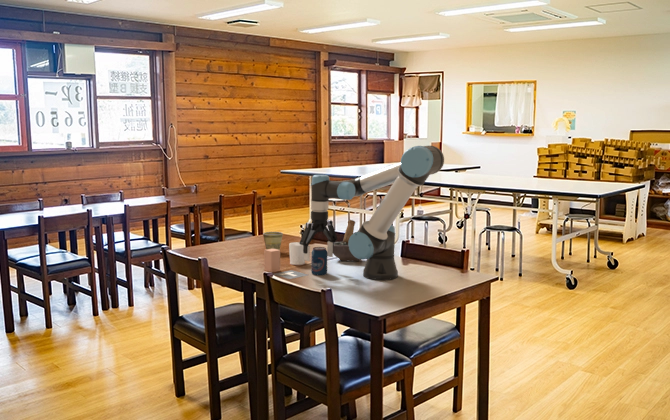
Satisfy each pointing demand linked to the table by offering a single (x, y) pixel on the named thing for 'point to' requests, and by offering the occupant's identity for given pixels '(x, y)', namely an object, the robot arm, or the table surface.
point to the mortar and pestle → (345, 245)
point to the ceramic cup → (272, 240)
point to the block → (272, 260)
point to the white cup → (296, 253)
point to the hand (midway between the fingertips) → (318, 258)
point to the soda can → (319, 261)
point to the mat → (290, 274)
